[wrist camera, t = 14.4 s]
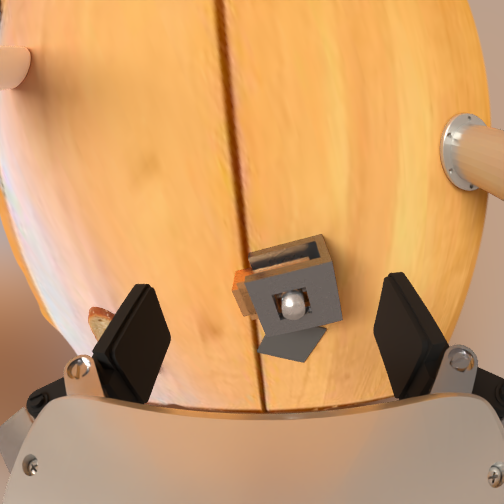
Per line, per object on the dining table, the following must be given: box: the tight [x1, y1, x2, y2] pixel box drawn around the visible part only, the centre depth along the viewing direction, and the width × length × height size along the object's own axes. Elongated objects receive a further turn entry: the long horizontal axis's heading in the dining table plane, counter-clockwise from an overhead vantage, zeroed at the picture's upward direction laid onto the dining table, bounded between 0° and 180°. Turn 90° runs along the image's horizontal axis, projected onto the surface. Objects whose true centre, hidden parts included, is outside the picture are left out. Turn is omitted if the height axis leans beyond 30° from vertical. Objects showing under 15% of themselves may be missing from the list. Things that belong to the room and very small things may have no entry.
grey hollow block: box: [232, 234, 343, 337], centre depth 39 cm, size 14×10×8 cm
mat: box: [257, 326, 326, 363], centre depth 50 cm, size 10×10×1 cm
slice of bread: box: [88, 307, 114, 341], centre depth 53 cm, size 18×18×4 cm
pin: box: [281, 288, 305, 320], centre depth 39 cm, size 3×3×10 cm
